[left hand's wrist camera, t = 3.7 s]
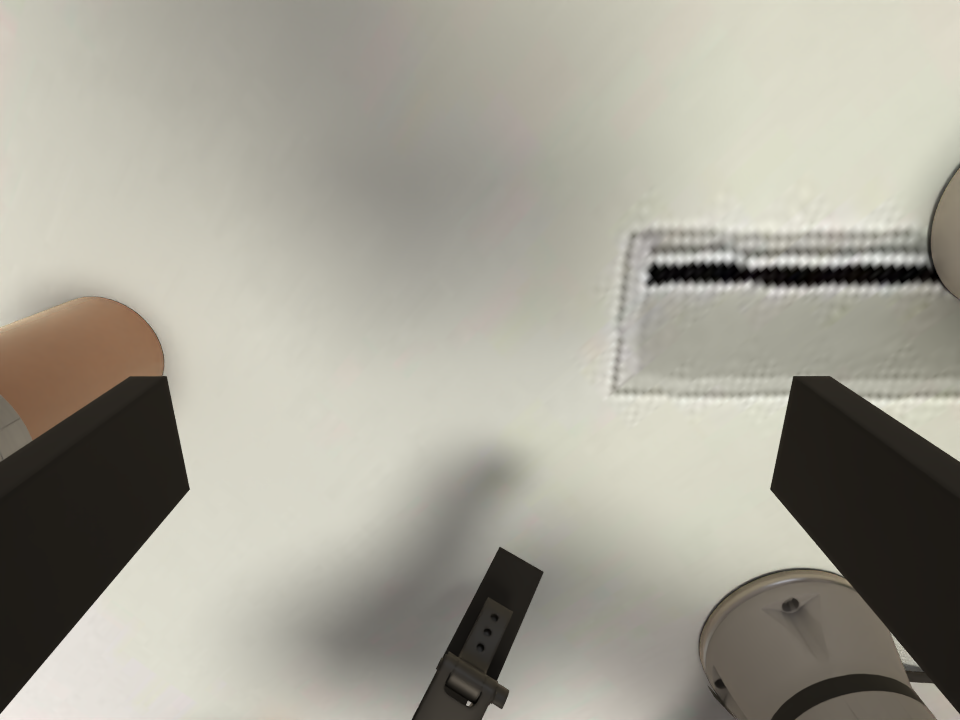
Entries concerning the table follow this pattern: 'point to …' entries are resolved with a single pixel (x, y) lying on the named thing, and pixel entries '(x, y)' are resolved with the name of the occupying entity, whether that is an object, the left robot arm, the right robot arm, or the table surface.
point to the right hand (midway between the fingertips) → (491, 611)
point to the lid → (11, 430)
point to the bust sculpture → (948, 236)
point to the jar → (72, 358)
